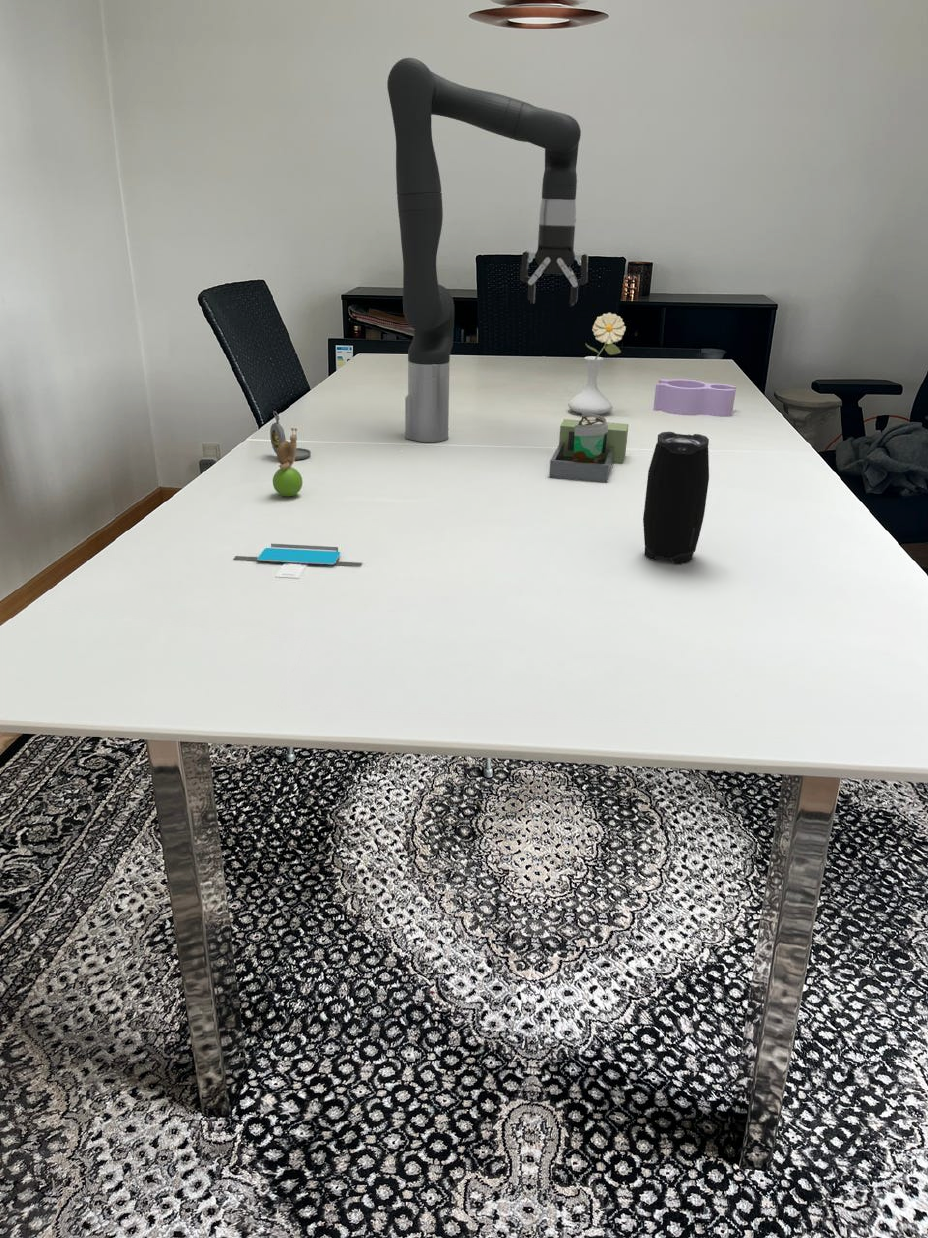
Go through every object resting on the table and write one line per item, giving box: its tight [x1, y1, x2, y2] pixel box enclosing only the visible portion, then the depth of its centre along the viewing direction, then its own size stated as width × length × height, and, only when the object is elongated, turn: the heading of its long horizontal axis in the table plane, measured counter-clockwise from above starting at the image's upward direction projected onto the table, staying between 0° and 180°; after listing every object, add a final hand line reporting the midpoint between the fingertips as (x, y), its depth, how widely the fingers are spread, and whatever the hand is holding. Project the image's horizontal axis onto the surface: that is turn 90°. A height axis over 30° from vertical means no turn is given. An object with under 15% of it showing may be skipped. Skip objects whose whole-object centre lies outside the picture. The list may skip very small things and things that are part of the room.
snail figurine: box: [272, 427, 303, 498], centre depth 177 cm, size 5×6×12 cm
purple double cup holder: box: [653, 378, 737, 418], centre depth 252 cm, size 20×12×7 cm, turn 73°
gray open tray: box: [549, 442, 615, 484], centre depth 199 cm, size 12×15×4 cm
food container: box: [573, 413, 608, 464], centre depth 198 cm, size 12×6×10 cm, turn 167°
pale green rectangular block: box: [558, 418, 629, 464], centre depth 208 cm, size 14×7×7 cm, turn 77°
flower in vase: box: [567, 312, 627, 415], centre depth 242 cm, size 13×11×25 cm
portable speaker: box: [642, 431, 710, 565], centre depth 152 cm, size 9×9×20 cm
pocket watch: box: [269, 410, 312, 460], centre depth 201 cm, size 8×8×10 cm
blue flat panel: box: [232, 543, 363, 580], centre depth 149 cm, size 20×12×2 cm, turn 86°
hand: (552, 304), depth 207 cm, fingers open, 8 cm apart
